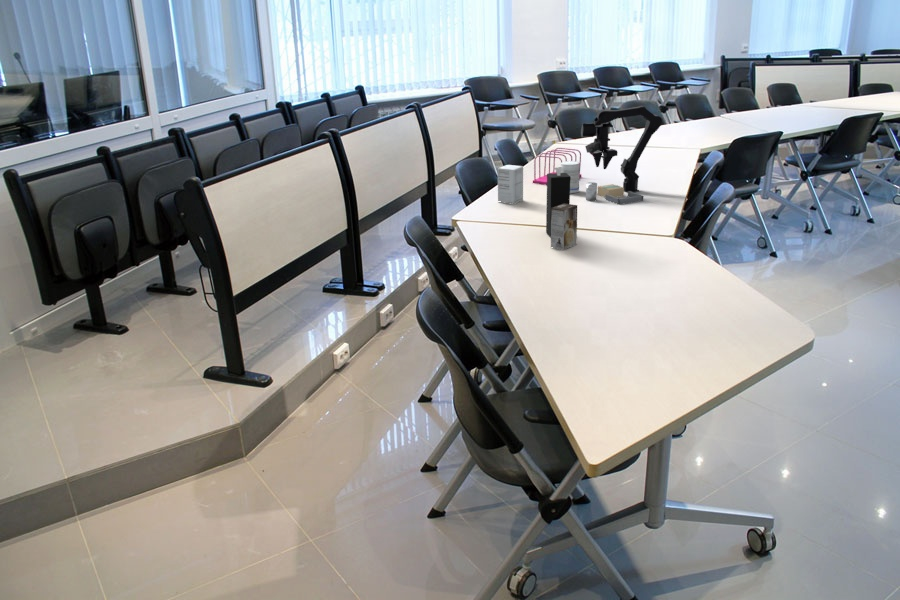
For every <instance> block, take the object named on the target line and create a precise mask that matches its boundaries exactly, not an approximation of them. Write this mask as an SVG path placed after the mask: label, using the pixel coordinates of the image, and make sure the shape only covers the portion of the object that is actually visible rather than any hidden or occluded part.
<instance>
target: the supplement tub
mask: <svg viewBox="0 0 900 600" xmlns="http://www.w3.org/2000/svg"><path fill="white" fill-rule="evenodd" d="M579 163H580V161H576V162H575V160H572V161H571V160H569V161H568V160H567V161H566V160H565V161H562V163H561V162H560V167H562V170H561V173H567V174H568V175H569V176H570V177H571V181H570V194H575V193H578V192H579V191H580V178H579V175H580V174H581V166H580V165H579Z"/></svg>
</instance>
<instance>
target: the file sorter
mask: <svg viewBox="0 0 900 600" xmlns="http://www.w3.org/2000/svg"><path fill="white" fill-rule="evenodd" d="M575 151H576V152H578V153H579V165H580V167H582V166H581V165H582V164H581V163H582V154H581V150H579V149H575V148H574V149H573V148H568V147H567V148H566V147H556V148H555V149H552V150H549V151H546V152H542V153H541V154H540V155H537V156H535V158H534V160H533V161H534V162H533V163H534V165H533V166H534V168H533V169H534V170H533V171H534V173H533V174H534V175H533V177H534V178H533V179H534V180H532V184H533V183H540V184H539V185H544V184H547V174H546V166H547V158H548V174H550V173H557V172H556V171H555V168H556V167H555V165H556V163H555V162H556V159H559V161H560V164H561V163H562V162H563V160H562V158H561V157H559V156H562V157H564V158H565V162H566V161H568V159H567V156H566V155H569V156H570V159H571V160H570V161H573V156H572V154H574V158H575V160H574V161H575V162H577V153H576V152H575ZM571 153H572V154H571ZM547 155H548V156H547ZM551 155H553V156H551ZM537 158H538V168H539V170H538V175H539V177H537V178H536V167H537V166H536V164H537V163H536V160H537ZM541 158H544V172H543V176H541ZM552 158H553V166H552V167H553V171H551V159H552ZM580 178H582V174H581V173H580V175H579V179H580Z"/></svg>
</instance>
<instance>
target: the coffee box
mask: <svg viewBox="0 0 900 600" xmlns="http://www.w3.org/2000/svg"><path fill="white" fill-rule="evenodd" d="M577 232H578V205H577V204H572V203H570V204H565V203H564V204H561V205H558V206H555V207H553V208H551V237H550V248H551V247H553V248H552V249H555V248H558V249H557V250H560V249H562V250H561V251H566V250H568V249H570V248H573V247H574V246H576V245H577V242H578V241H577V239H578V238H577V235H578V234H577ZM569 247H570V248H569ZM567 248H568V249H567ZM565 249H566V250H565Z"/></svg>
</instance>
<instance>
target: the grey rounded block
mask: <svg viewBox="0 0 900 600" xmlns="http://www.w3.org/2000/svg"><path fill="white" fill-rule="evenodd" d="M585 186H586V189H585V192H586V193H585V200H586V201H587V202H596V201H597V197H598V195H597V193H598V183H597V182H594V181H592V182H586V185H585ZM595 200H596V201H595Z"/></svg>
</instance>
